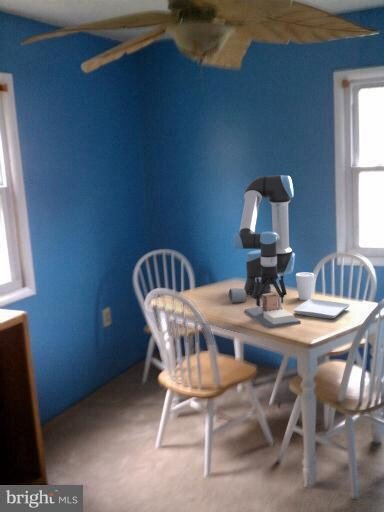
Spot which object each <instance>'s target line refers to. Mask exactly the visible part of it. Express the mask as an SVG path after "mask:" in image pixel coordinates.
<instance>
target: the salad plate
mask: <svg viewBox="0 0 384 512" xmlns="http://www.w3.org/2000/svg"><path fill="white" fill-rule="evenodd" d="M350 306H351V305H350V303H345V302H339V301H331V300H323V299H314V298H311V299H309V300H305V301H304V302H303V303H301V304H299V305H297V306H296V307H295V308H293V310H292V312H294V313H295V314H298V315H301V316H306V317H313V318H321V319H335V318H336V317H337V316H339V315H340V314H342V312H344V311H345V310H347V309H348V308H349V307H350Z"/></svg>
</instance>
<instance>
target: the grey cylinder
mask: <svg viewBox="0 0 384 512" xmlns="http://www.w3.org/2000/svg"><path fill="white" fill-rule="evenodd" d="M228 297H229V299H228V300H229V302H230V304H236V303H244V302H246V300H247V294H246V290H245V289H244V288H239V287H238V288H229V291H228Z"/></svg>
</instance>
